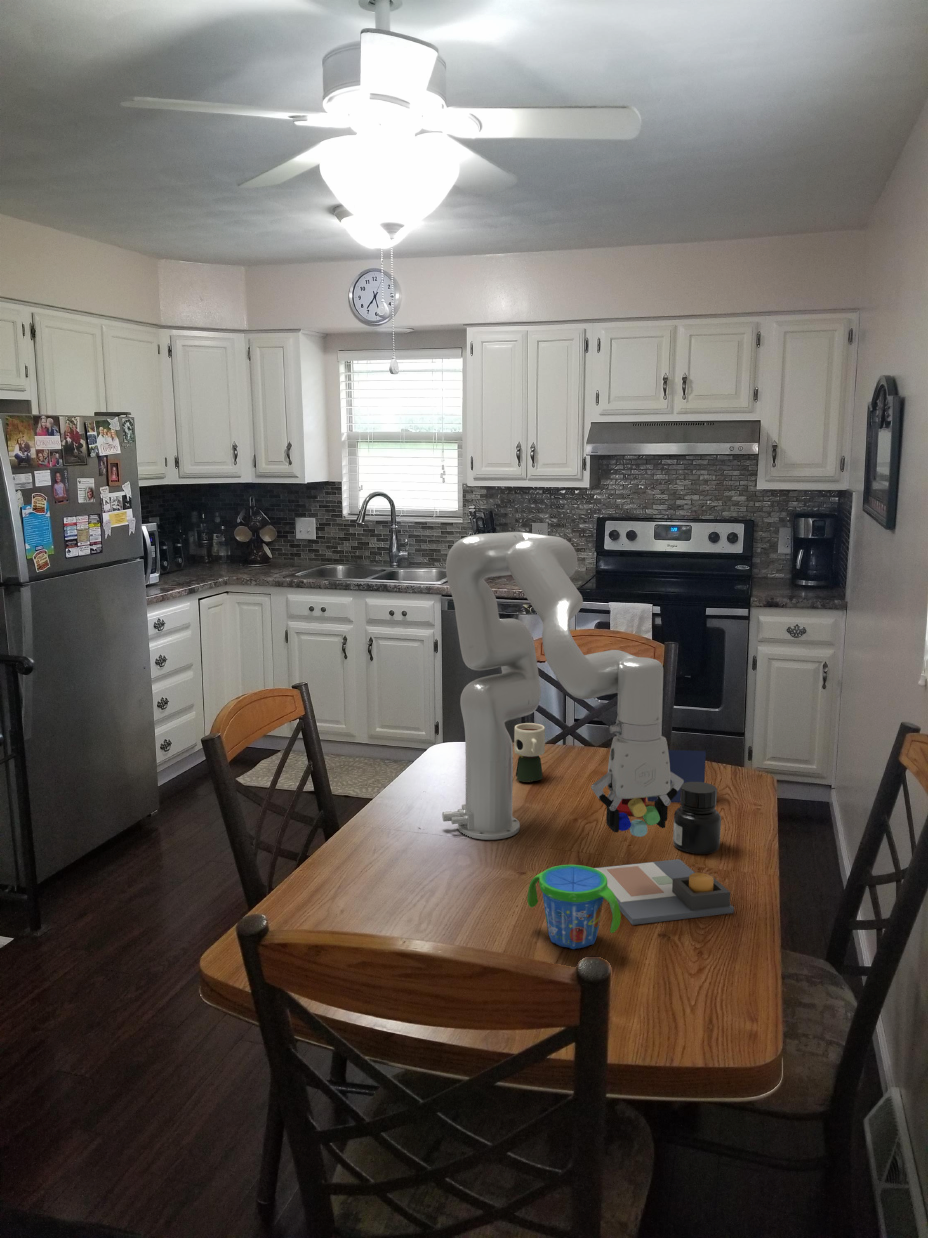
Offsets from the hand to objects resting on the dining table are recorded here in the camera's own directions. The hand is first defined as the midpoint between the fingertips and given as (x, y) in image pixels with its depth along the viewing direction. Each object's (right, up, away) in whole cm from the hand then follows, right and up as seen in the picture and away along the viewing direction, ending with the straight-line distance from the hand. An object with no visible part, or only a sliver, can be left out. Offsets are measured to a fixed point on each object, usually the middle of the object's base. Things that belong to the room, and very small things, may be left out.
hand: (636, 827), depth 165 cm
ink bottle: (+15, -8, +20) cm, 26 cm away
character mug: (-15, -2, +58) cm, 60 cm away
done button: (+10, -10, -5) cm, 15 cm away
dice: (0, -1, 0) cm, 1 cm away
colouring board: (+4, -11, 0) cm, 12 cm away
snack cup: (-13, -14, -16) cm, 25 cm away
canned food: (+5, -5, +40) cm, 40 cm away
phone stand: (+17, -3, +50) cm, 53 cm away
